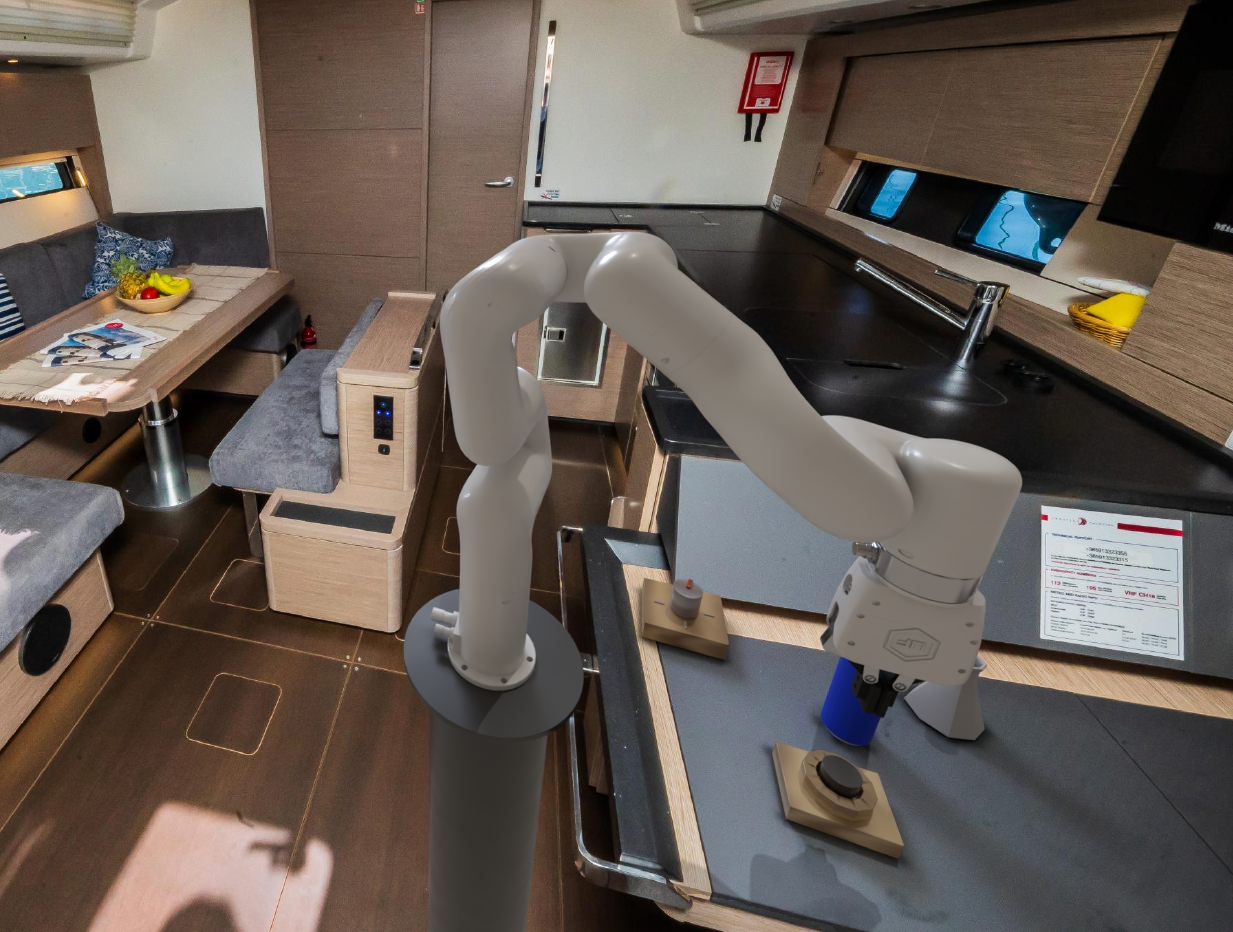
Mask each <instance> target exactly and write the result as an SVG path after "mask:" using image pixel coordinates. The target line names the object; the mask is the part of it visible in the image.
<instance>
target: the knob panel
mask: <svg viewBox="0 0 1233 932" xmlns="http://www.w3.org/2000/svg"><path fill="white" fill-rule="evenodd" d="M672 587H673V583H668V582H664V581H660V580H655V579H651V578H647V577H643V580H642V587H641V634H642V635H641V637H642V638H643V639H647V640H651V641H655V642H658V643H661V644H666V645H670V646H673V647H677V648H680V649H684V650H688V651H691V652H694V653H698V654H701V655H706V656H710V657H713V658H716V659H720V660H724V661H726V660H727V655H728V651H729V648H730V641H729V635H728V630H727V624H726V623H727V622H726V617H725V613H724V608H723V601H722V597H721V595H717V594H713V593H709V592H705V591H703V596H702V601H701V605H700V610H699V614H698V616H697V617H696V618H693V619H687V618H683V617H680V616H678V615H677V614H675V613H674V612H673V611H672V610H671V608H670V606H669V603H670V598H671V593H672Z"/></svg>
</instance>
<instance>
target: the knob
mask: <svg viewBox="0 0 1233 932" xmlns="http://www.w3.org/2000/svg"><path fill="white" fill-rule="evenodd" d="M672 585H673V587H672V593H671V598H670V603H669V606H670V608H671V610H672V611H673V612H674V613H675V614H677V615H678V616H680V617H683V618H687V619H693V618H696V617H697V616H698V614H699V610H700V605H701V601H702V596H703V592H704V591H703V589H702V587H701V586H700V585H698V584H697V583H696V582H694V579H691V578H688V579H685V578H679V579H676V580H674V581H673V583H672Z"/></svg>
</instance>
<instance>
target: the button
mask: <svg viewBox="0 0 1233 932" xmlns="http://www.w3.org/2000/svg"><path fill="white" fill-rule="evenodd" d="M843 758H844V757H843ZM843 758H841V757H838V756H834V755H828V756H825V757H824V758H823V760H822V762H821V765H820V768H819V776H820V779H821V780H822V782H823V783H824V784H825V786H826V787H827V788H829V789H830V790H831V791H833V792H834V793H836V794H837V795H839V796H842V797H845V798H855V797H857V796H858V794H859V792H860V789H861V787H862V784H863V779H862V776H861V774H860V772H859V771H858V770H857V769H856V768H855V767H854V766H853V765H852V764H853V763H852V762H851V761H849V760H848V759H846V758H845V759H846V760H845V759H843ZM847 760H848V761H849V762H848V761H847ZM850 762H851V763H852V764H851V763H850Z"/></svg>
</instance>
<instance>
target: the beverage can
mask: <svg viewBox="0 0 1233 932" xmlns="http://www.w3.org/2000/svg"><path fill="white" fill-rule="evenodd" d="M856 671H857V670H856V669H855V668H854V667H853V666H852V665H851V663H850V662H849V661H848V660H847V659H846V658H844V657H839V659H838V663H837V665H836V668H835V671H834V673H833V677H832V679H831V683H830V685H829V688H828V691H827V694H826V696H825V700H824V702H823V705H822V708H821V711H820V719H821V721H822V723H823V725H824V727H825V728H826V729H827V731H828V732H829V733H830V734H831V735H832V736H833V737H834V738H836V739H838V740H839V741H841V742H842V743H845V744H847V745H850V746H855V747H862V746H868V745H869V744H870V743H872V740H873V738H874V736H875V734H876V731H877V728H878V725H879V724H880V721H881V717H878V716H876V714H874V713H873V714H872V713H871V714H867V713H864V712H863V710H862V708H861V705H860V702H859V700H858V698H856V697H854V695H853V693H852V688H851V686H852V682H853V679H854V676H855V674H856Z"/></svg>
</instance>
